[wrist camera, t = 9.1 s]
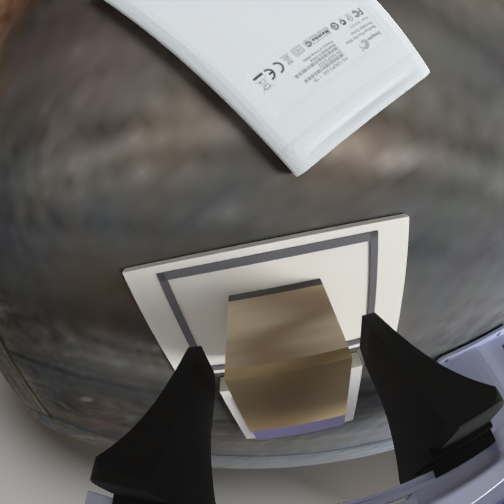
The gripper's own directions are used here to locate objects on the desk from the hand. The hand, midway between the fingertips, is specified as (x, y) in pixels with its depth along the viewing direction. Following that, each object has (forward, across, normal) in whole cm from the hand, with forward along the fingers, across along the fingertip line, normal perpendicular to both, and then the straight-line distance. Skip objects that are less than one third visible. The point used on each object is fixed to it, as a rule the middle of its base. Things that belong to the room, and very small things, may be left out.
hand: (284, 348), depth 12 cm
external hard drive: (+4, -2, -14) cm, 15 cm away
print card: (+3, 0, 0) cm, 3 cm away
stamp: (+2, 0, 0) cm, 2 cm away
